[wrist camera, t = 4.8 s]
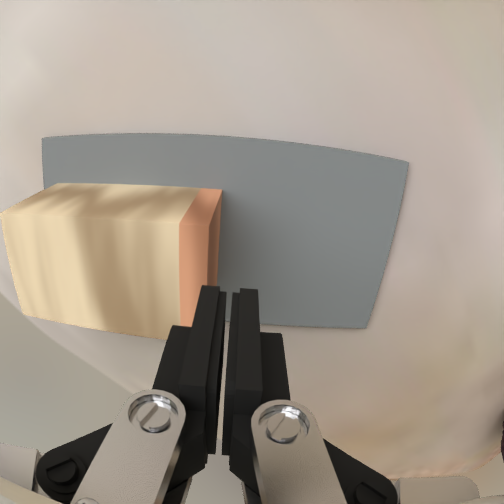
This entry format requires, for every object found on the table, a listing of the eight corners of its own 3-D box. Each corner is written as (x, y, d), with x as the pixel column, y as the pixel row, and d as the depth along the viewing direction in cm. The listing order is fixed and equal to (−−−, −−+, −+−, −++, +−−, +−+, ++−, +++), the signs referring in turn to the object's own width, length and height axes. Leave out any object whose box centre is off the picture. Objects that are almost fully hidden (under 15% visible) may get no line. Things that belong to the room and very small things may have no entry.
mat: (405, 161, 15) (408, 162, 14) (364, 324, 19) (366, 328, 19) (45, 137, 14) (41, 138, 14) (64, 296, 18) (61, 300, 18)
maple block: (209, 225, 11) (-1, 213, 10) (205, 344, 13) (23, 314, 12) (222, 189, 15) (57, 183, 15) (217, 282, 17) (67, 266, 17)
